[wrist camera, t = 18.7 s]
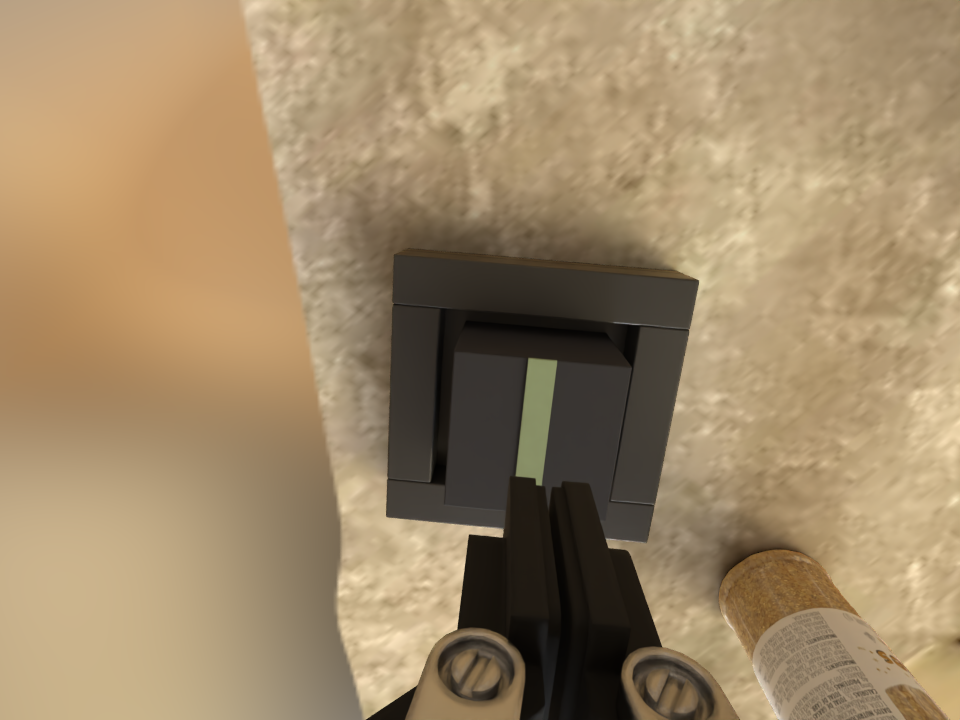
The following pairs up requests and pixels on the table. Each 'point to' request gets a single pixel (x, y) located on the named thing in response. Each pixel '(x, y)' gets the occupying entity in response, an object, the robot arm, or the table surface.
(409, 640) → the table surface
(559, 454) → the top pad
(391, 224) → the table surface
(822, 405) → the table surface
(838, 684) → the sprinkles bottle
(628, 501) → the socket pad
